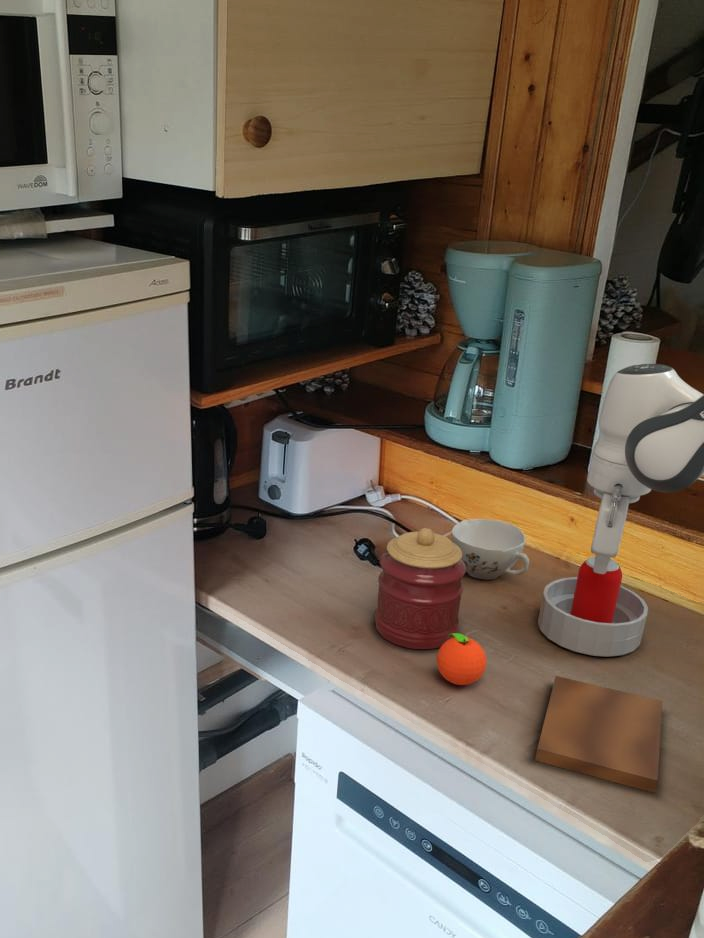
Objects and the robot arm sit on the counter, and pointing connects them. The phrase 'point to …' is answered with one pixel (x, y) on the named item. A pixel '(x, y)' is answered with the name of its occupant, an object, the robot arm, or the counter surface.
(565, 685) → the cutting board
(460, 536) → the teacup
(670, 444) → the robot arm
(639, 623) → the grey round bowl
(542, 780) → the counter surface
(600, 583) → the beverage can
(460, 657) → the clementine
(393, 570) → the kitchen canister
